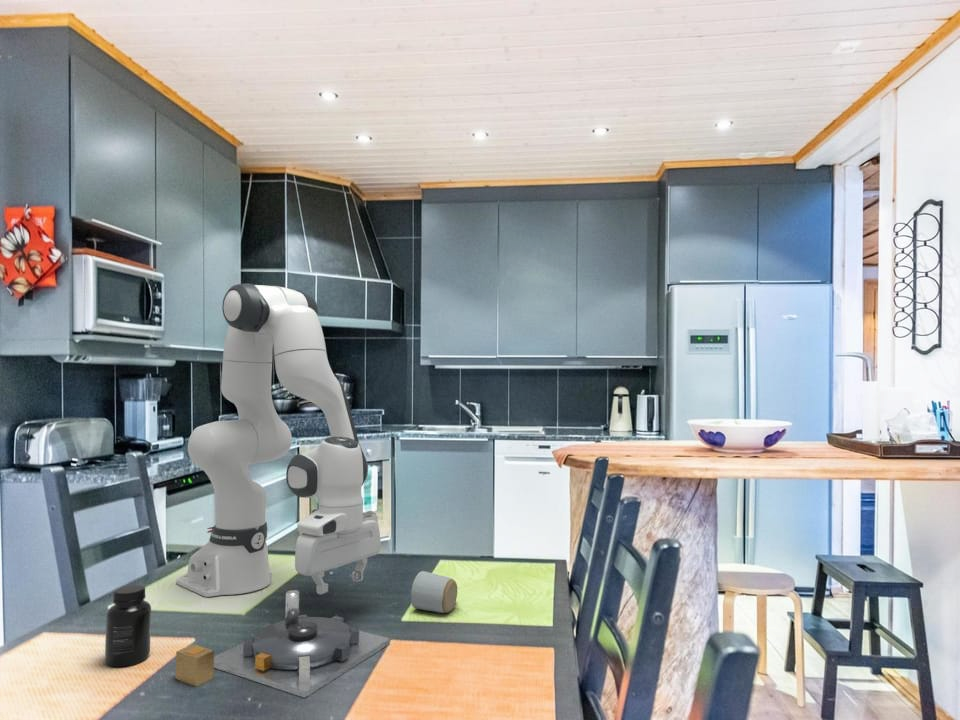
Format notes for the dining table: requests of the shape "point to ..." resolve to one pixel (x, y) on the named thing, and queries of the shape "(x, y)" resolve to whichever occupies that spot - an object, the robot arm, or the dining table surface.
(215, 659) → the base plate
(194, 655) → the tan block
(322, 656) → the sprocket
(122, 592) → the supplement bottle
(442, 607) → the ceramic mug
